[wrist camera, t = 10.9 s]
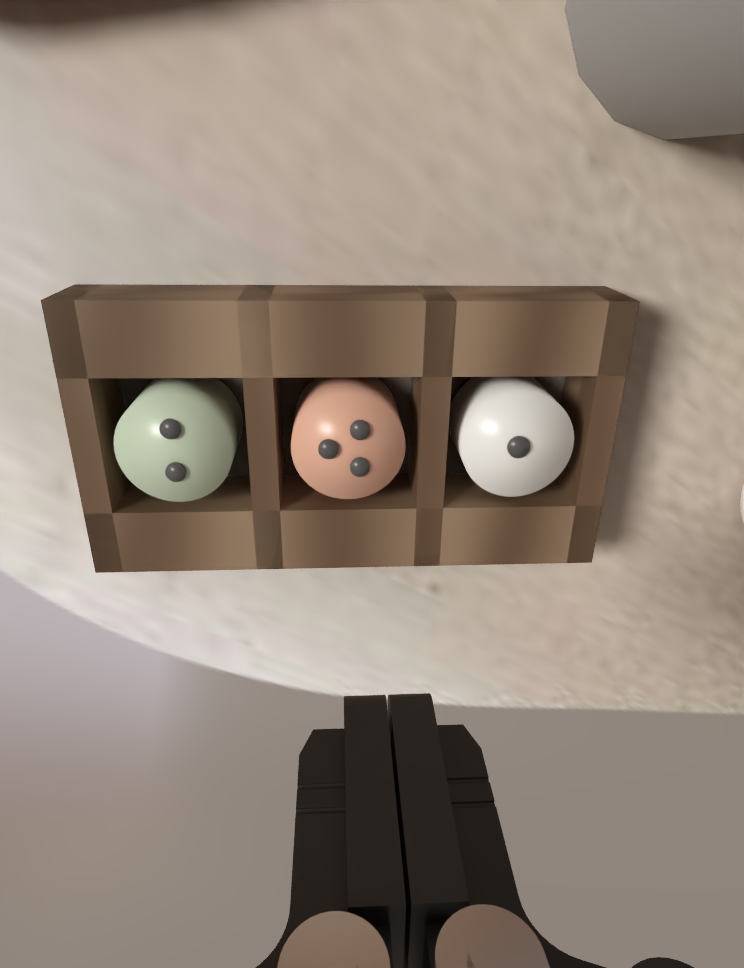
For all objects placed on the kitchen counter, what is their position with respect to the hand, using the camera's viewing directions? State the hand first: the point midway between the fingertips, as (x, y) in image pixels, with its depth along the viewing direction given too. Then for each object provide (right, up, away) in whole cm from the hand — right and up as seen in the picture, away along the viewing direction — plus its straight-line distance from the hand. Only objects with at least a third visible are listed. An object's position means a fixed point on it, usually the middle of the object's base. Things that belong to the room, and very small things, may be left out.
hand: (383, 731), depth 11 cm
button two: (-7, +7, +14) cm, 17 cm away
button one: (+5, +7, +15) cm, 17 cm away
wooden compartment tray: (-1, +7, +14) cm, 16 cm away
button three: (-1, +7, +14) cm, 16 cm away
